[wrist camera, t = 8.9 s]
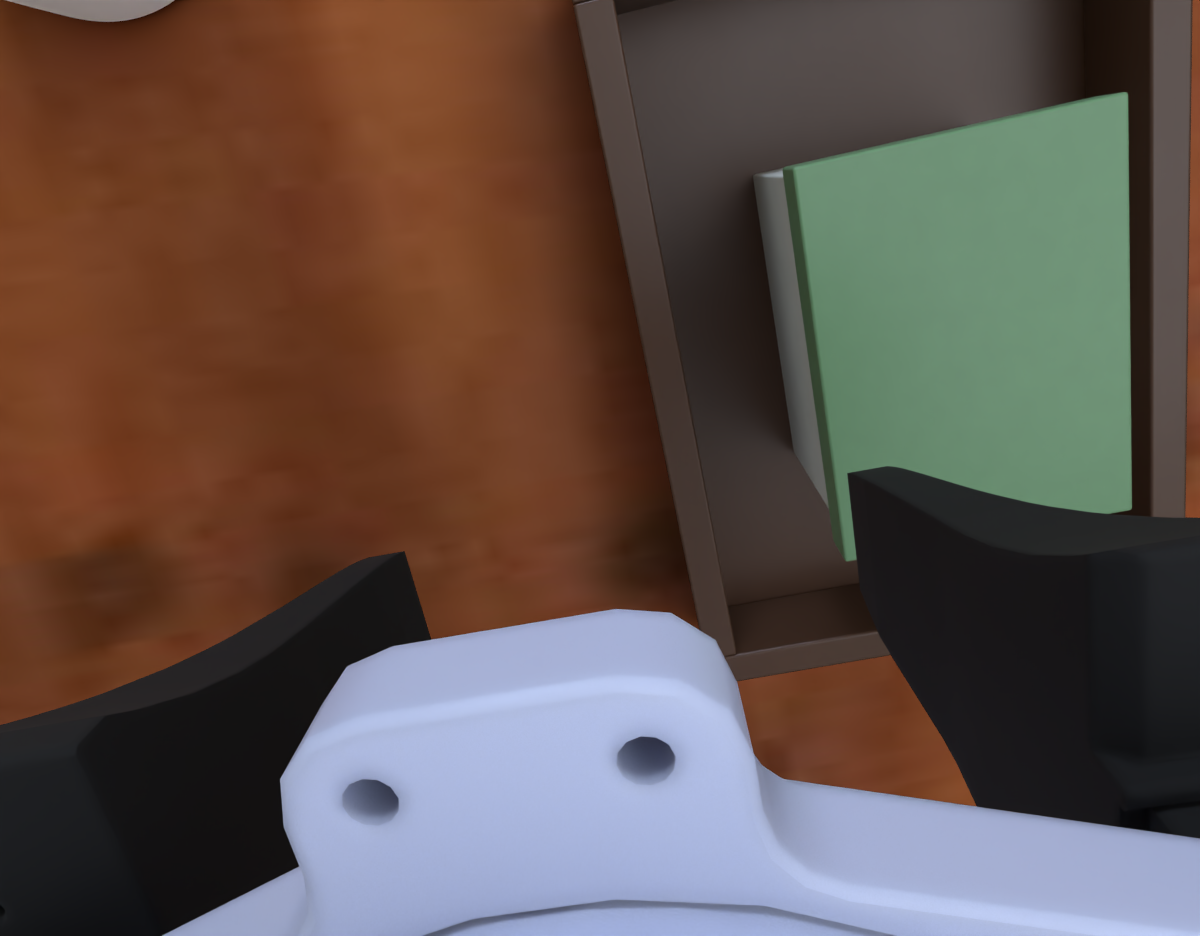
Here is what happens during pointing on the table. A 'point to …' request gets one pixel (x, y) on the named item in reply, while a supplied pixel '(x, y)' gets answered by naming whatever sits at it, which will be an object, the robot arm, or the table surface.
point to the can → (98, 8)
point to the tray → (738, 268)
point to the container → (961, 308)
